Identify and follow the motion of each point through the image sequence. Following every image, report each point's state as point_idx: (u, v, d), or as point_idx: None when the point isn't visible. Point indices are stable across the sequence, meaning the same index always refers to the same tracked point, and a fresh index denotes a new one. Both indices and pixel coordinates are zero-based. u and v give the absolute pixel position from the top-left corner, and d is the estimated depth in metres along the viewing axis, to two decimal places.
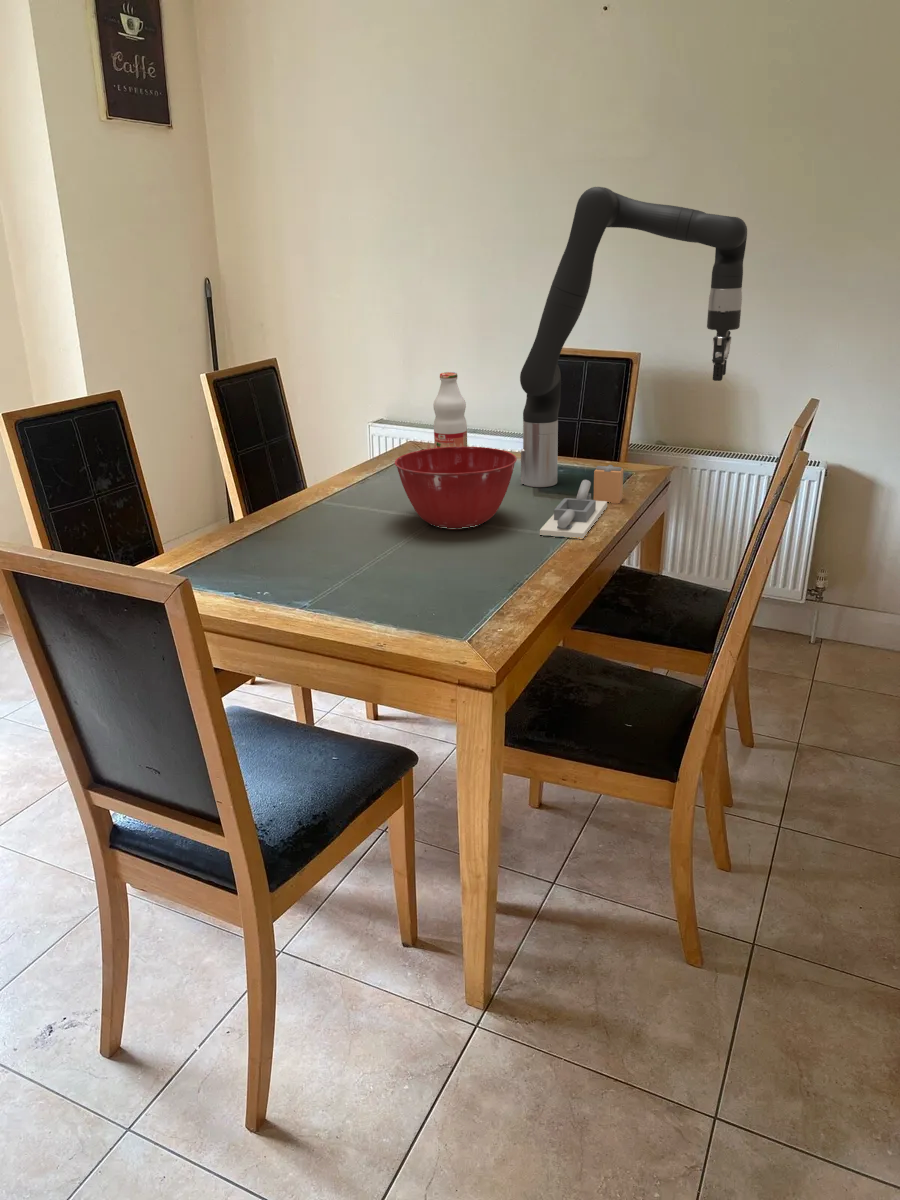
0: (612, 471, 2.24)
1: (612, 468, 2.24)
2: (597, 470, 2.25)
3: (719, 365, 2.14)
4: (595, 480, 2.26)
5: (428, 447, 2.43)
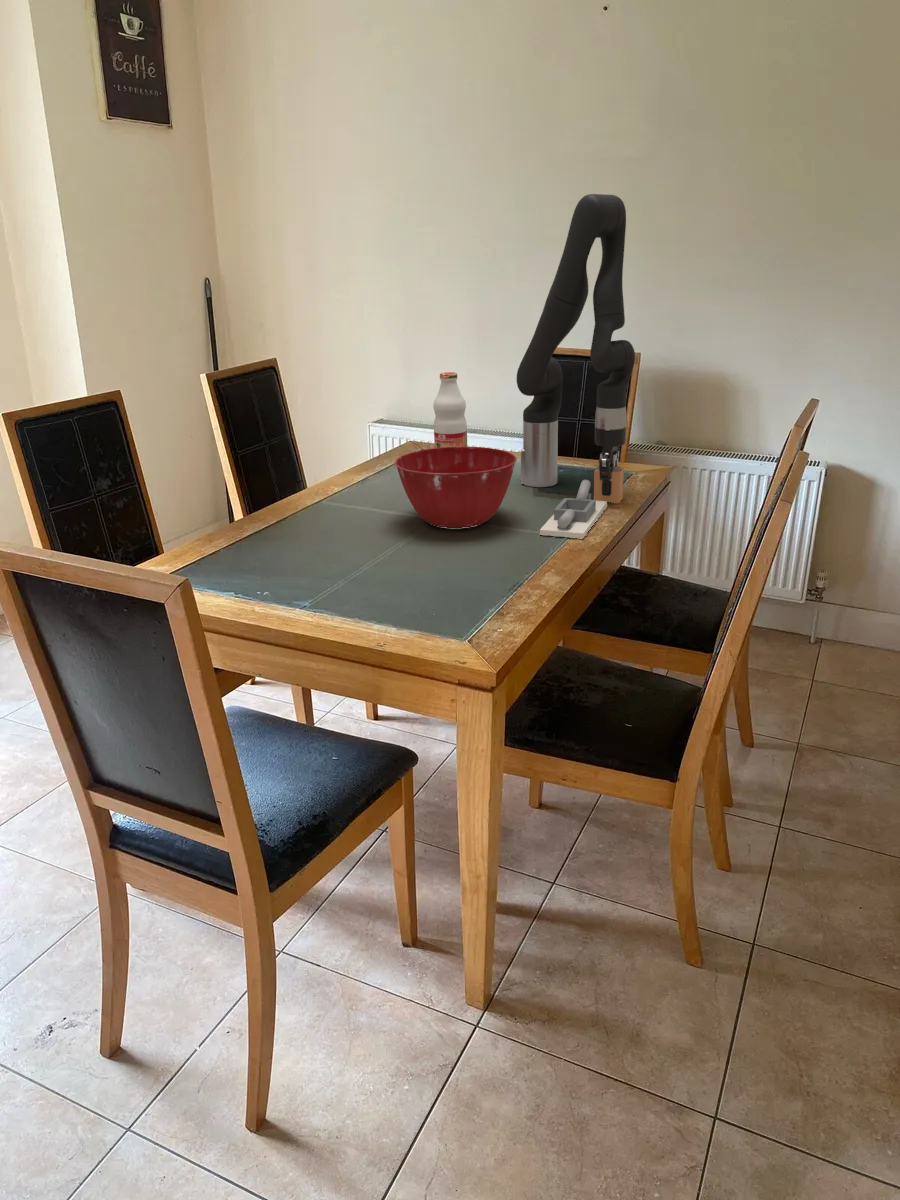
0: None
1: None
2: (597, 470, 2.25)
3: (607, 482, 2.23)
4: (595, 480, 2.26)
5: (428, 447, 2.43)
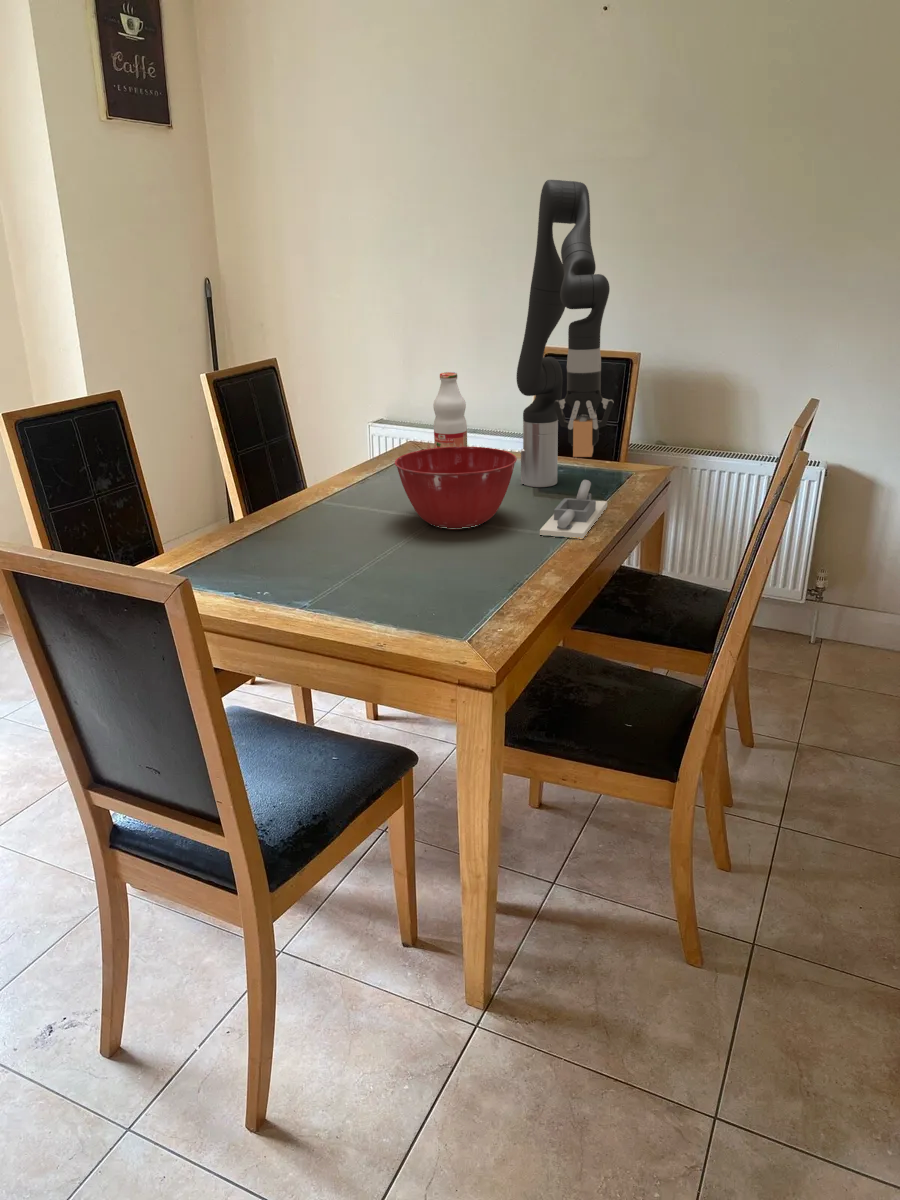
0: (576, 420, 2.06)
1: (580, 417, 2.05)
2: None
3: (568, 429, 2.08)
4: None
5: (428, 447, 2.43)
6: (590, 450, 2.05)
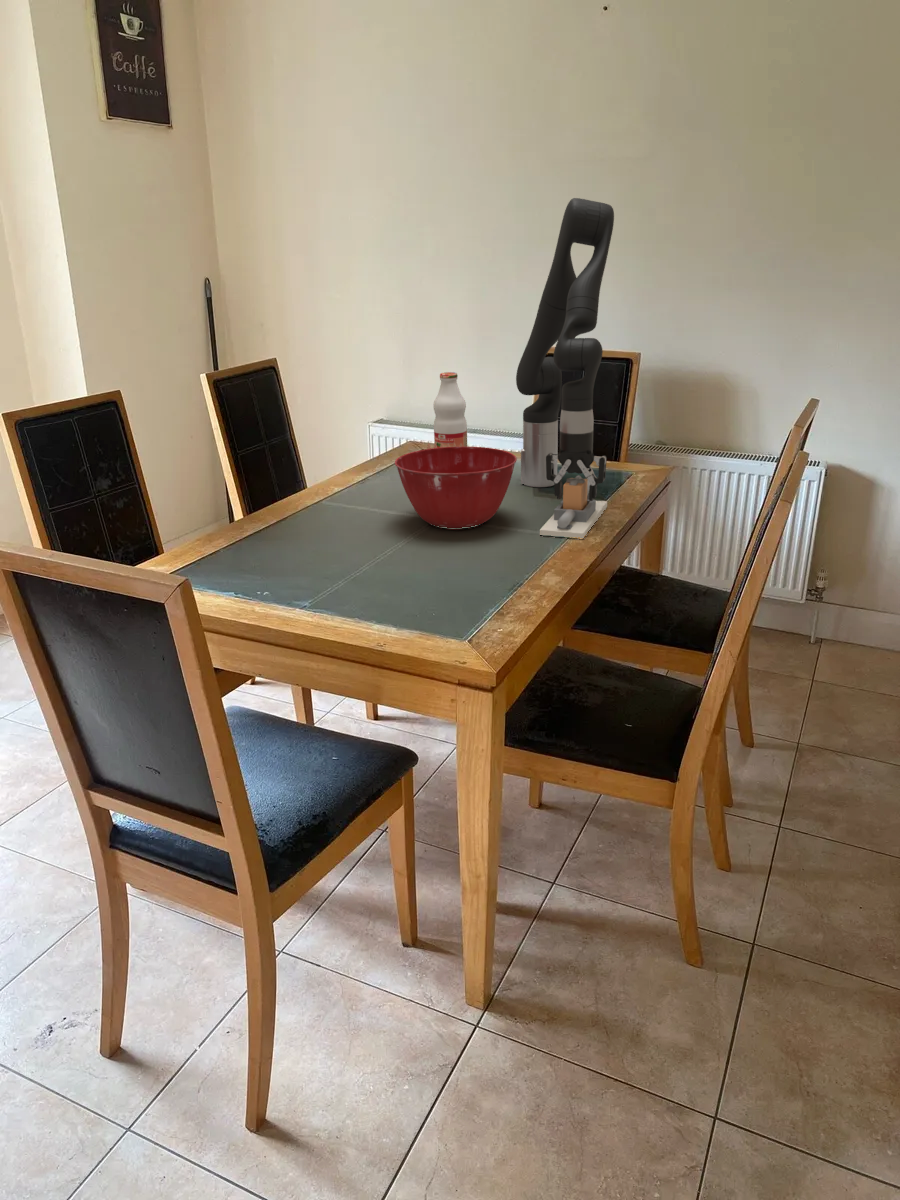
0: (568, 483, 2.09)
1: (572, 480, 2.09)
2: None
3: None
4: None
5: (428, 447, 2.43)
6: None
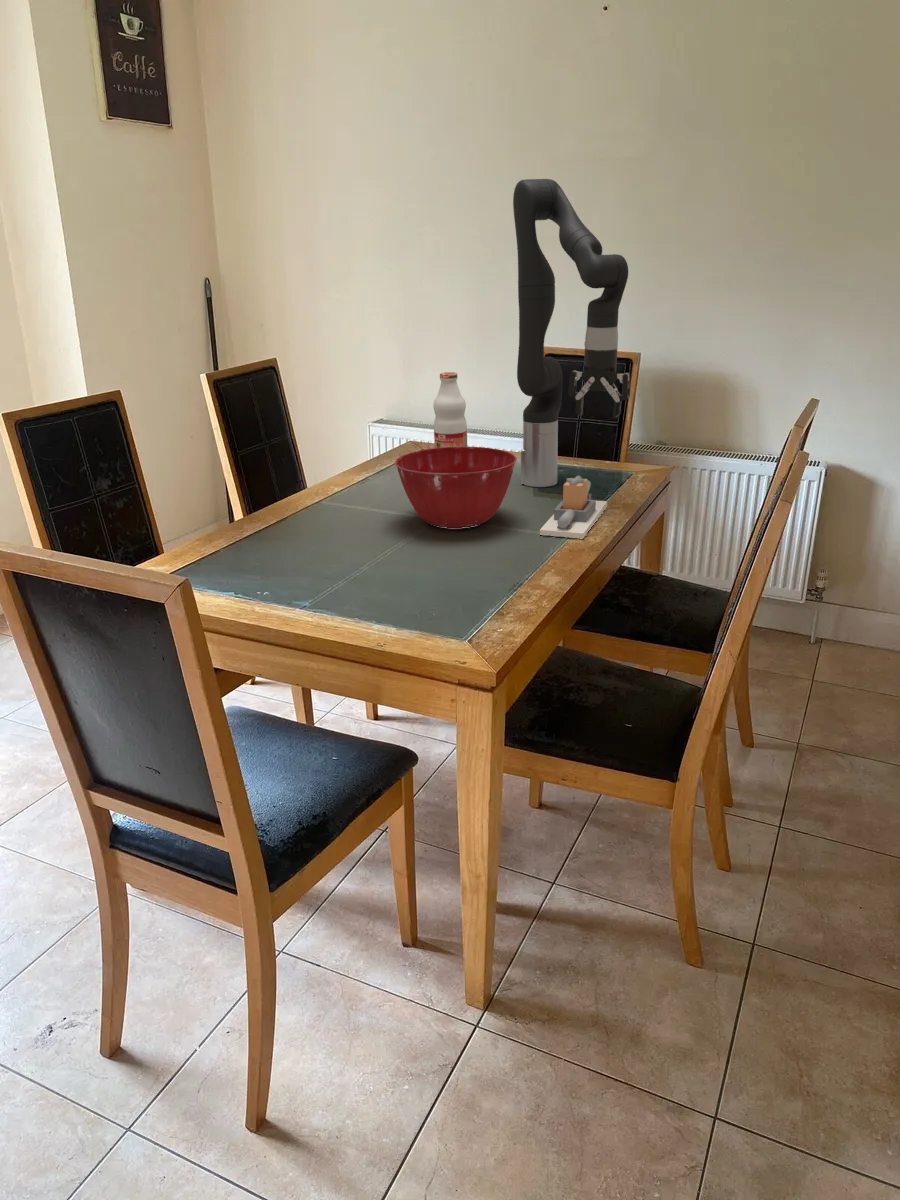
0: (568, 483, 2.09)
1: (572, 480, 2.09)
2: None
3: None
4: None
5: (428, 447, 2.43)
6: None
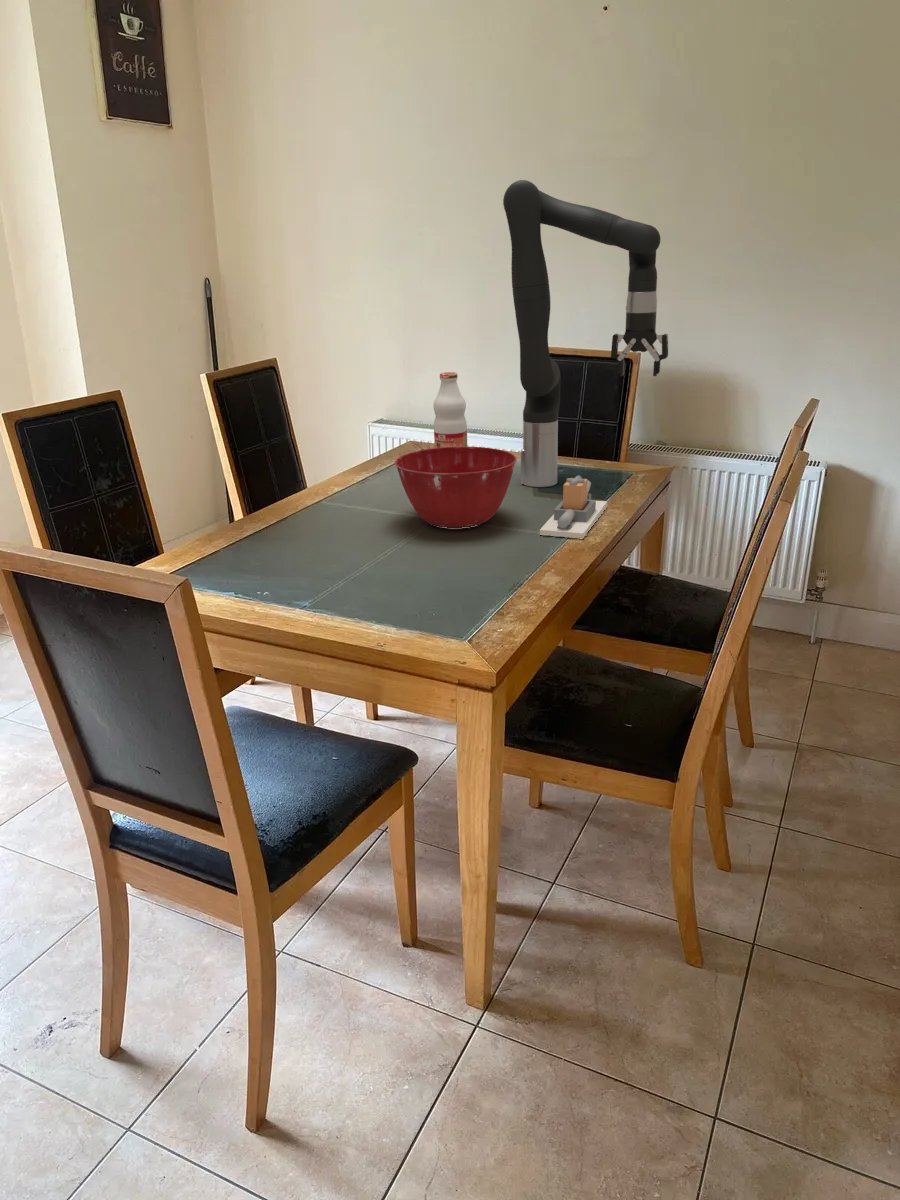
0: (568, 483, 2.09)
1: (572, 480, 2.09)
2: None
3: (618, 360, 2.34)
4: None
5: (428, 447, 2.43)
6: None
